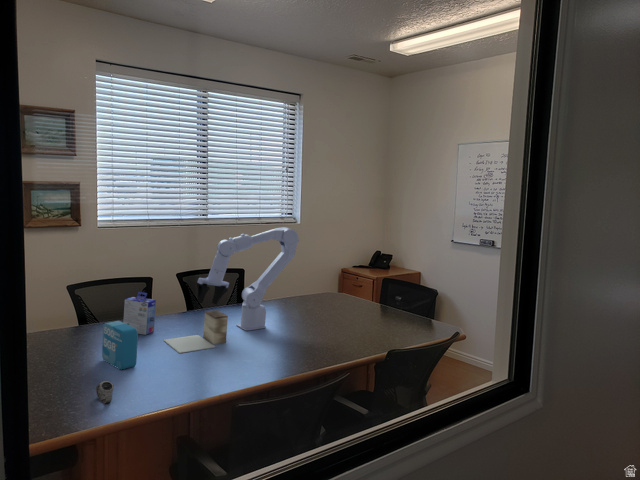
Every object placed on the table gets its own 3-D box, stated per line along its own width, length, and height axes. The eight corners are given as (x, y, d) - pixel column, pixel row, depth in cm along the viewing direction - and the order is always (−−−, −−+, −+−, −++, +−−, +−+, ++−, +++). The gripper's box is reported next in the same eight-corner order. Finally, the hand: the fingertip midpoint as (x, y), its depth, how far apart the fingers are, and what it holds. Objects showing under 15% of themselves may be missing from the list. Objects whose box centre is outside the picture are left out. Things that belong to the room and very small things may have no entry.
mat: (197, 335, 174) (197, 334, 174) (215, 347, 163) (215, 346, 163) (163, 340, 165) (163, 339, 165) (179, 353, 155) (179, 352, 155)
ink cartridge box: (155, 331, 174) (157, 293, 173) (146, 335, 169) (148, 296, 167) (131, 327, 176) (132, 289, 175) (122, 331, 171) (123, 292, 169)
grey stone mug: (102, 406, 116) (103, 387, 116) (92, 397, 120) (92, 378, 120) (116, 402, 119) (117, 383, 118) (105, 393, 123) (106, 375, 122)
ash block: (215, 336, 175) (217, 310, 174) (226, 342, 169) (227, 315, 168) (203, 337, 172) (205, 311, 171) (213, 344, 166) (215, 317, 165)
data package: (101, 359, 144) (102, 322, 143) (115, 356, 148) (116, 319, 147) (122, 371, 137) (124, 332, 136) (136, 367, 141) (138, 329, 139)
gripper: (224, 269, 190) (214, 300, 190) (197, 264, 178) (186, 298, 178) (236, 274, 186) (225, 306, 186) (209, 269, 174) (197, 304, 174)
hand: (207, 303), depth 182 cm, fingers open, 7 cm apart
